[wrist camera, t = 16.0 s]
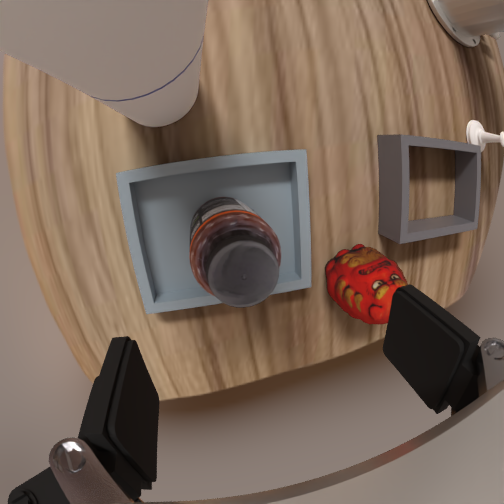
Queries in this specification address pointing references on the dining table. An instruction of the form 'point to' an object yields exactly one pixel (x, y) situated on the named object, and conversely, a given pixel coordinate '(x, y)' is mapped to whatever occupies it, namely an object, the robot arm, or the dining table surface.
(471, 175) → the dock
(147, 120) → the cylindrical container
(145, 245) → the tray
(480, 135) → the chess piece
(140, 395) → the robot arm
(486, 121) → the dining table surface
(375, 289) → the red clay folk toy
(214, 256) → the supplement bottle
